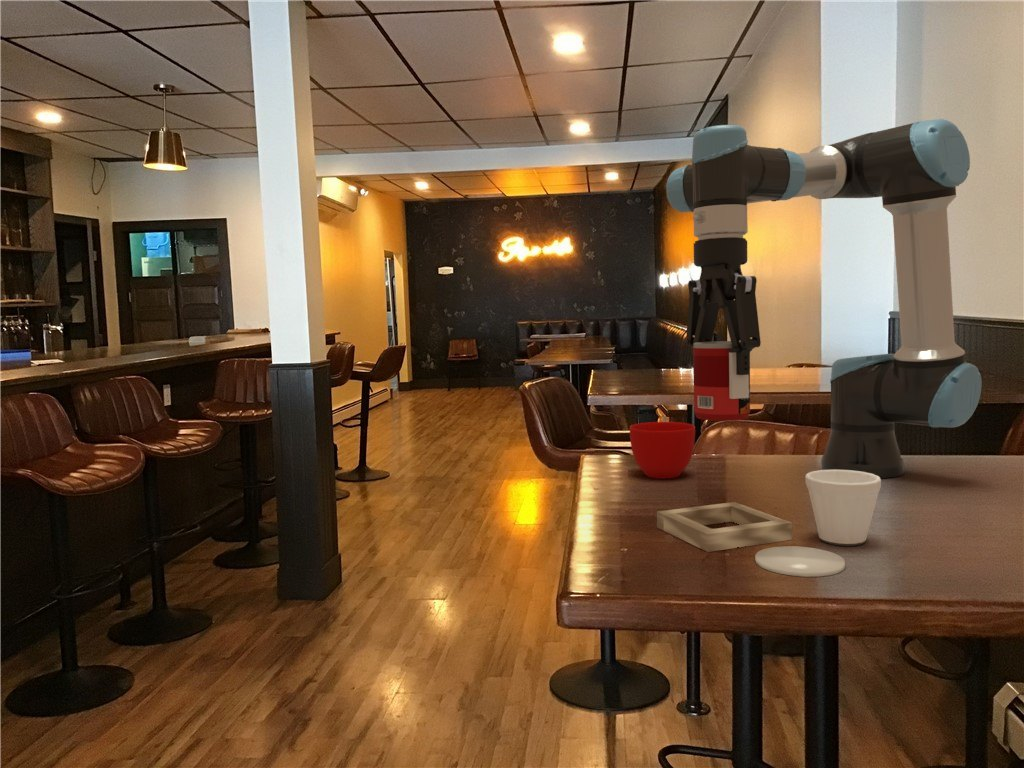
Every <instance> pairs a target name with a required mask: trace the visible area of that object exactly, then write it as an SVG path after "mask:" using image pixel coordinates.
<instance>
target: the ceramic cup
mask: <svg viewBox="0 0 1024 768" xmlns="http://www.w3.org/2000/svg"><path fill="white" fill-rule="evenodd" d="M629 439H630V440H629V441H630V447H631V452H632V455H633V458H634V460H635V462H636V464H637V465H638V467H639V468H640V469H641V471H642V472H643V473H644V474H645V476H647V477H648V478H652V479H664V480H665V479H666V478H667V479H675V478H678V477H680V476H681V474H682V473H683V471H684V470H686V468H687V466H688V465H689V463H690V461H691V459H692V455H693V453H694V447H695V439H696V426H695V425H694V424H691V423H687V422H677V421H652V422H650V421H648V422H639V423H635V424H631V425H630V426H629Z"/></svg>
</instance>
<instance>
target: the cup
mask: <svg viewBox="0 0 1024 768" xmlns="http://www.w3.org/2000/svg"><path fill="white" fill-rule="evenodd" d="M805 485H806V487H807V490H808V494H809V497H810V503H811V507H812V511H813V515H814V520H815V524H816V529H817V533H818V538H819V540H820V541H821V542H824V543H826V544H829V545H834V546H843V547H855V546H860V545H863V544H864V543H866V541H867V538H868V534H869V530H870V526H871V523H872V519H873V515H874V511H875V508H876V505H877V501H878V496H879V493H880V490H881V487H882V478H880V477H879V476H877V475H874V474H871V473H866V472H862V471H853V470H822V469H820V470H819V469H818V470H812V471H809V472H808V473H805Z"/></svg>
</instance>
